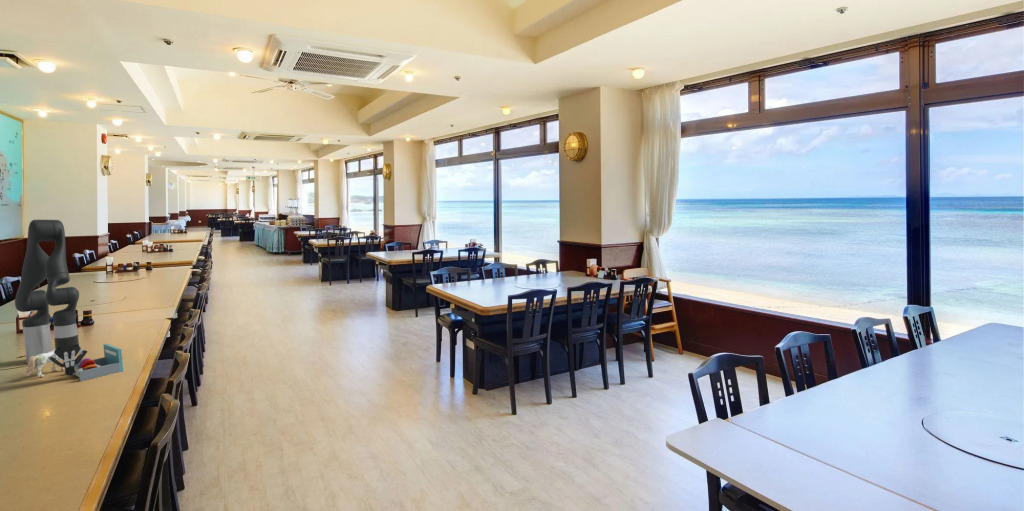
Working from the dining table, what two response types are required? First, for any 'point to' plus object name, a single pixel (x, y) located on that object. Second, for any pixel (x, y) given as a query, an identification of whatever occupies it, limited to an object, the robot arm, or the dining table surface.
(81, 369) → the white-wheeled rainbow disc toy
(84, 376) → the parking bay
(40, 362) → the unicorn figurine
